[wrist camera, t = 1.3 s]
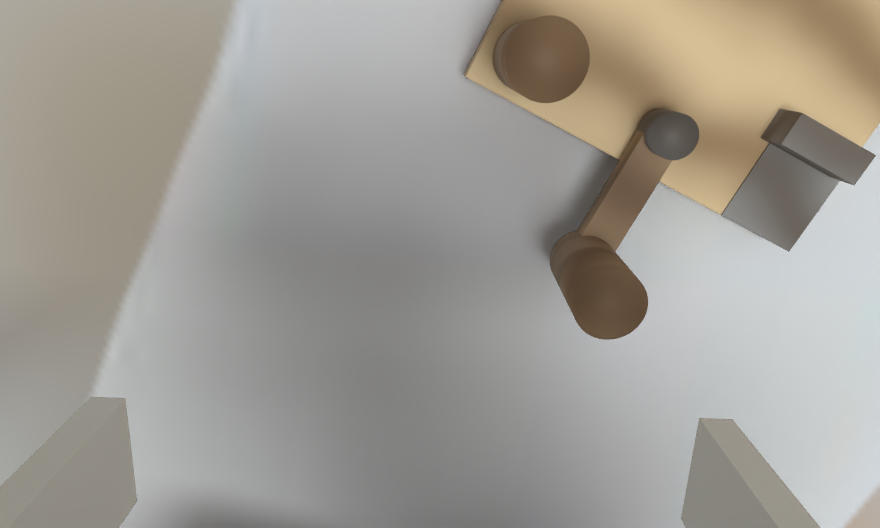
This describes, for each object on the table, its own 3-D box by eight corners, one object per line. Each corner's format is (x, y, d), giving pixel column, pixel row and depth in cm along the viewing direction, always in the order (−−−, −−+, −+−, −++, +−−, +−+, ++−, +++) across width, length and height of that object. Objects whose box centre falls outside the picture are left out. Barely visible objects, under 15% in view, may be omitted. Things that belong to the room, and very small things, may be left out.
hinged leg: (590, 297, 33) (622, 350, 27) (538, 271, 32) (559, 320, 27) (699, 126, 30) (759, 144, 24) (643, 95, 30) (691, 107, 24)
